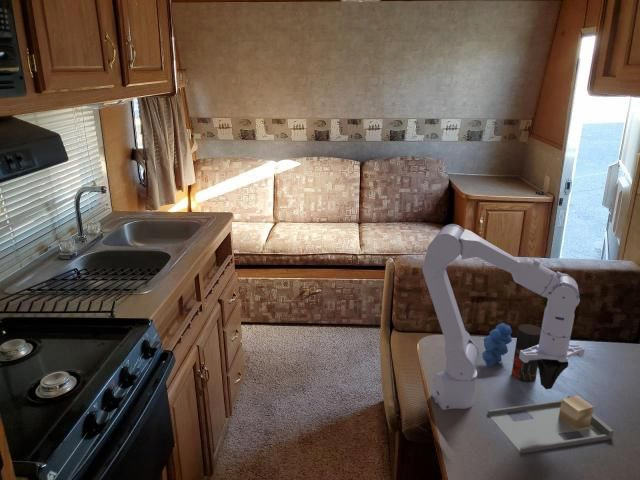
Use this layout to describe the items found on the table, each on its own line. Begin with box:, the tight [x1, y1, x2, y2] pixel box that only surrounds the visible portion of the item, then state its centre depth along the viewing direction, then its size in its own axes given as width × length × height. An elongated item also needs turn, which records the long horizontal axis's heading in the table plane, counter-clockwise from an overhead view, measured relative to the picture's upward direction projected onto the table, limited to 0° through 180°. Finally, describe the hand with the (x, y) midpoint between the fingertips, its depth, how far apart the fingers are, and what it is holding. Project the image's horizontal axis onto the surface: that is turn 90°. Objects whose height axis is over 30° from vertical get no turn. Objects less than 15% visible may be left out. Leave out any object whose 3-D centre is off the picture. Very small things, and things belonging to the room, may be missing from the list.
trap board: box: [487, 394, 615, 454], centre depth 108 cm, size 22×13×4 cm, turn 103°
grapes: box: [481, 322, 513, 367], centre depth 135 cm, size 12×7×12 cm, turn 128°
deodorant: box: [511, 323, 542, 383], centre depth 126 cm, size 6×6×15 cm
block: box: [558, 395, 595, 430], centre depth 109 cm, size 4×4×5 cm
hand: (546, 386), depth 108 cm, fingers closed
